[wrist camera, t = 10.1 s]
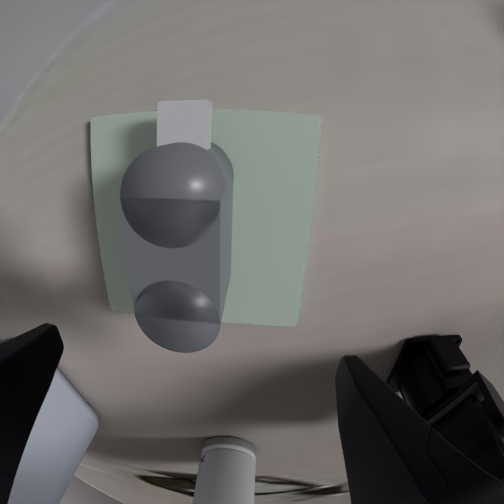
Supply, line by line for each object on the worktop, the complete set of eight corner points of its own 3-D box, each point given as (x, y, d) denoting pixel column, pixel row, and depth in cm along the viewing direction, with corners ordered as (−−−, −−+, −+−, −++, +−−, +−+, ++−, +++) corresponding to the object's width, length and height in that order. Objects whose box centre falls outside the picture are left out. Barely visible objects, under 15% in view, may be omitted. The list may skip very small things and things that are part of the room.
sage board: (295, 319, 22) (296, 326, 21) (114, 304, 22) (110, 309, 21) (319, 116, 16) (321, 116, 15) (96, 117, 16) (90, 117, 15)
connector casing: (230, 300, 20) (220, 356, 15) (167, 295, 20) (141, 346, 15) (236, 105, 15) (224, 94, 10) (160, 106, 15) (118, 100, 10)
